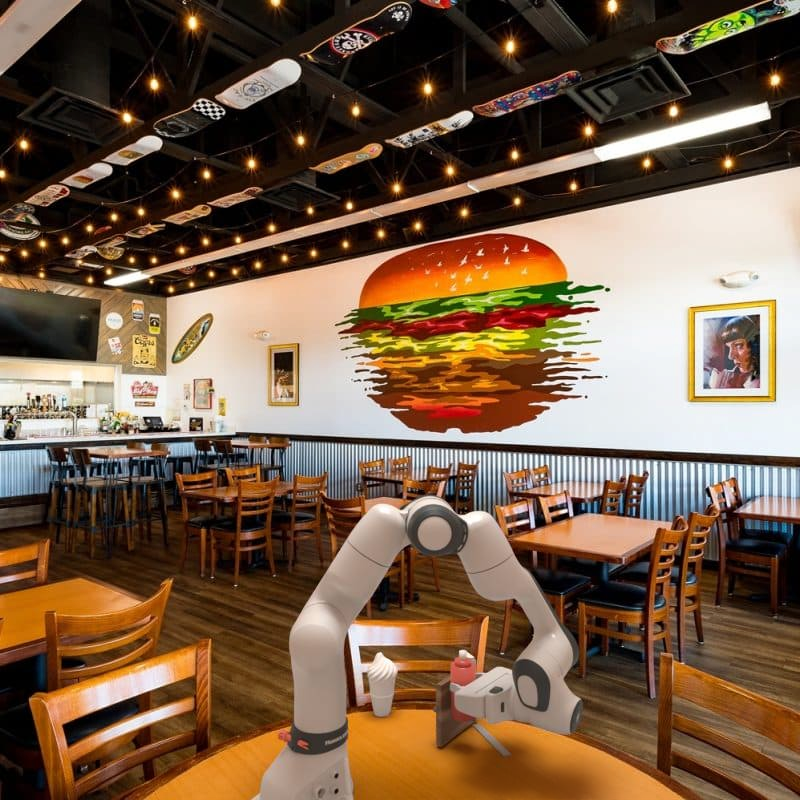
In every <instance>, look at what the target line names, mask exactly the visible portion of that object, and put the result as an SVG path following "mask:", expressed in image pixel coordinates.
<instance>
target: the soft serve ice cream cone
mask: <svg viewBox="0 0 800 800" xmlns="http://www.w3.org/2000/svg"><path fill="white" fill-rule="evenodd" d="M366 673H367V678H368V683H369V696H370V698H371V705H372V709H373V714H374V715H375V716H376V717H379V718H385V717H388V716H390V714H391V710H392V709H391V708H392V703H393V700H394V695H395V683H396V677H397V676H398V667H397V666H396V664H394V662H393V661H392V660H391V659H389V658H387V657H386V656H384V654H383V652H377V653H376V654H375V657H374V660H373V661H372V662H371V664H370V665H368V667H367V670H366Z"/></svg>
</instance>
